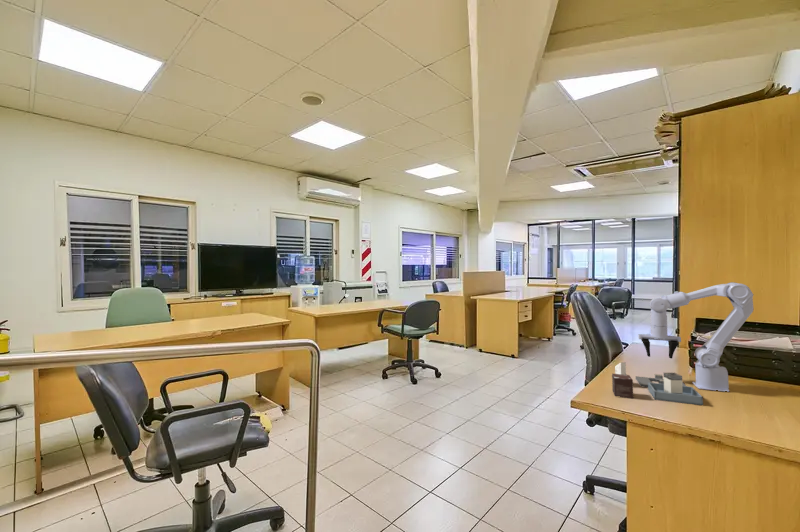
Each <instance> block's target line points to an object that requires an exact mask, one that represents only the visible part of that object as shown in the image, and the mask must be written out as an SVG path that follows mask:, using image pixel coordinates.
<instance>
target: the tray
mask: <svg viewBox="0 0 800 532" xmlns="http://www.w3.org/2000/svg"><path fill="white" fill-rule="evenodd" d="M682 388H683V394H674V393H665V392H664V384H659V382H657V383H656V382H652V383H650V382H648V387H647V390H648V392H649V393H650V395H651V396H652V398H653V399H654V400H655V401H663V402H672V403H679V404H686V405H695V406H702V405H703V406H704V397H703V396H702V395H701V394H700V393H699V392H698V391H697V390H696V388H694V387H693V386H687V385H686V386H682Z"/></svg>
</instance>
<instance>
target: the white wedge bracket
mask: <svg viewBox="0 0 800 532" xmlns="http://www.w3.org/2000/svg"><path fill="white" fill-rule="evenodd" d="M626 363H627V362H625V361H624V362H619V363H617V364H616V365H615V367H614V374H623V375H627V367H626V366H627V364H626Z"/></svg>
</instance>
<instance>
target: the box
mask: <svg viewBox="0 0 800 532" xmlns="http://www.w3.org/2000/svg"><path fill="white" fill-rule="evenodd" d="M611 381H612V383H611V384H612V385H611V386H612V393H613V395H614V397H615V396H620V397H619V398H626V397H627V399H634V384H633V383H634V382H633V379H632V376H630V374H626V375H623V374H615V373H612V375H611Z"/></svg>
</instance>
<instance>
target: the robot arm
mask: <svg viewBox="0 0 800 532" xmlns="http://www.w3.org/2000/svg"><path fill="white" fill-rule="evenodd" d="M713 296H718V297H724V298H725V297H726V298H727V299H728V300H729V301H730V303H731V305H732V307H733V309H732V310H731V312H729V314H728V315H727V316H726V317H725V319H724V320H723V321H722V323H721V324H720V325H719V327H718V328H717V329H716V331H715V332H714V333H713V334H712V336H711V337H710V338H709V340H708V341H706V342H704V344H702V345H701V346H699V347H697V348H696V349H695V351H694V356H695V357H696V359H697V360H696V361H695V363H694V364H695V365H694V366H695V367H694V368H695V381H691V383H692V384H693V385H694V386H695V387H696V388H697V389H700V390H707V391H708V390H709V391H716V390H718V392H725V391H727V392H728V393H729V392H730V389H729V388H730V387H729V372H728V370H727V369H728V368H726V367H725V366H720V365H719V363H720V361H721V359H720V358H721V356H723V352H724V349H725V347H726V346H727V345H728V343H729V342H731V340H732V338H733V337H734V336H735V335H736V334H737V332H738V331H739V329H741V327H742V326H743V325H744V323H745V322H746V321H747V319H749V317H751V315H752V313H753V312H754V298H753V297H754V293H753V291H752V290H751V289H750V287H749V286H748V285H746V284H745V283H738V282H733V281H731V282H728V283H721V284H716V285H715V284H714V285H712V286H708V287H705V288H702V289H698V290H694V291H690V292H688V293H686V292H685V291H684V292H683V291H678V290H677V291H673V293H671V294H667V295H660V297H654V298H652V299H651V300H650V301H649V307H650V316H649V317H650V333H649V334H648V333H647V334H645V333H642V334H638V335H637V337H638V340H641V343H642V344H643V346H644V348H645V350H646V356H647V357H651V349H650V348H651V342H650V340H651V341H665V342H668V358H670V359H673V357H674V353H675V351H676V350H677V347H678V346H679V344H680V343H682V337H681V336H675V335H669V334H668V315H667V310H668V309H670V310H672V309H675V308H679V307H683V306H687V305H689V304H690V302H691V301H694V300H699V299H704V298H707V297H708V298H709V297H713ZM727 392H726V393H727Z"/></svg>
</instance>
